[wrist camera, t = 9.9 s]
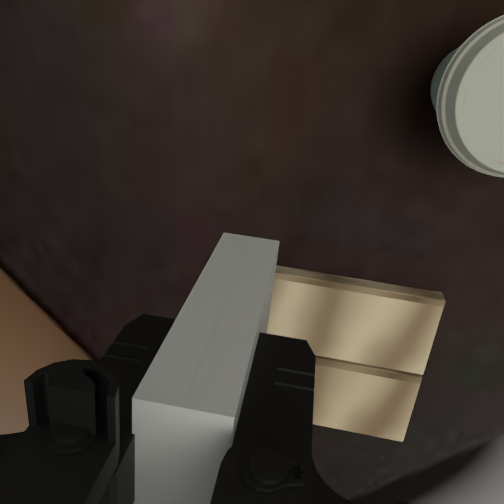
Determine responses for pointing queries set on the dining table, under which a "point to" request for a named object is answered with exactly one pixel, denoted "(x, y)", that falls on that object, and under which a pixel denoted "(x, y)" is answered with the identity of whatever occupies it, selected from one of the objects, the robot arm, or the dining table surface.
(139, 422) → the robot arm
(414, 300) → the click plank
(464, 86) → the coffee cup
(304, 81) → the dining table surface
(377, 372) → the laid plank
